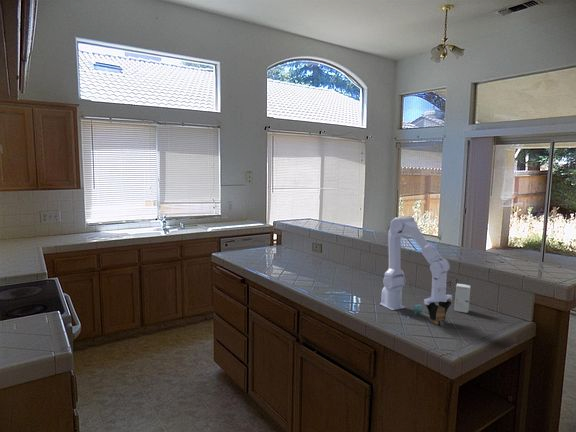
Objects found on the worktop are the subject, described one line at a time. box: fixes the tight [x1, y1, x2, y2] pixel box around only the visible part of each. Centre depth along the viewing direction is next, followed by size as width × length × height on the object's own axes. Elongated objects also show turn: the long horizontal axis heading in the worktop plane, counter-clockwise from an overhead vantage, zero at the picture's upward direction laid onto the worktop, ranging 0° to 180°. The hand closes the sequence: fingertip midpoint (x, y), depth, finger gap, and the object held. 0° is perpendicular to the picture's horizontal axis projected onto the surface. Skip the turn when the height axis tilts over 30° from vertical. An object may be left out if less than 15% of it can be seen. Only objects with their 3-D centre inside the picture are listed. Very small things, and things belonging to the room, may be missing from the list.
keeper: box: [428, 305, 446, 325], centre depth 166 cm, size 4×5×6 cm
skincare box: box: [453, 283, 472, 314], centre depth 179 cm, size 6×4×12 cm
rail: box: [413, 303, 448, 327], centre depth 169 cm, size 16×3×4 cm, turn 26°
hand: (437, 318), depth 166 cm, fingers closed on keeper, 5 cm apart
